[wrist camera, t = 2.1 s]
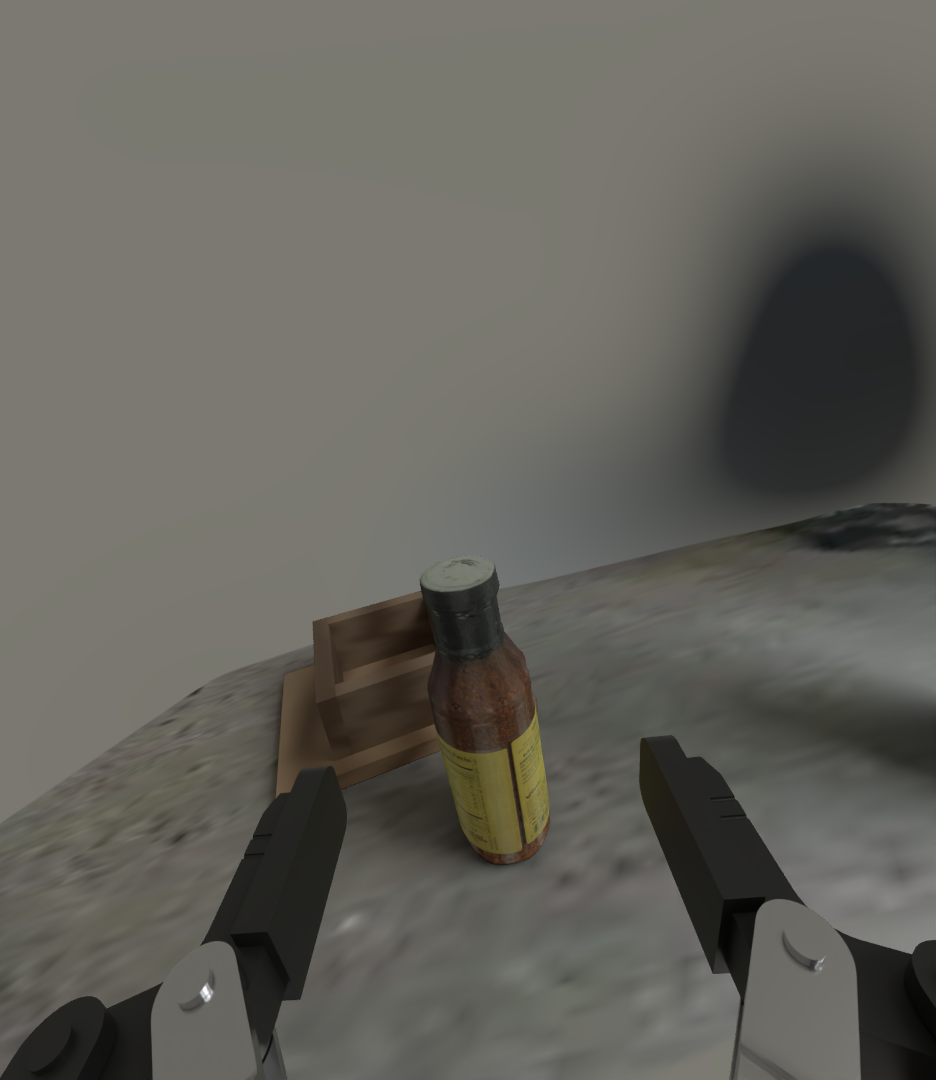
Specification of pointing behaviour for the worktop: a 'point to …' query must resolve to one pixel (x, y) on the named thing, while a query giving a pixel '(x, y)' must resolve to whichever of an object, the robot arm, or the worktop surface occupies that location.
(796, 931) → the robot arm
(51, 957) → the worktop surface
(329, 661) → the walnut caddy
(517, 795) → the sauce bottle
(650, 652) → the worktop surface
